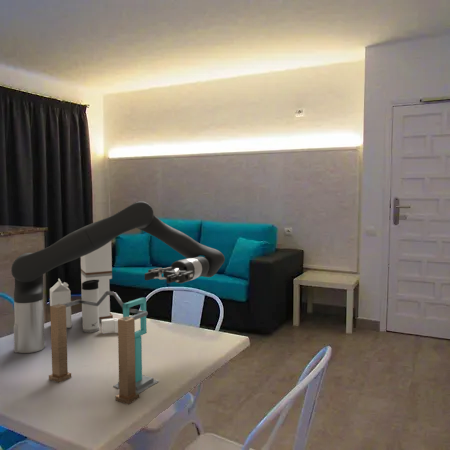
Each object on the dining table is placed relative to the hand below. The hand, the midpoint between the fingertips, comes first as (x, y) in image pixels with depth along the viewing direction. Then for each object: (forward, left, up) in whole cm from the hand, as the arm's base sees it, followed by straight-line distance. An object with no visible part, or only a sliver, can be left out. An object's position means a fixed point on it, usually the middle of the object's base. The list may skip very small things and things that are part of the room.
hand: (156, 278), depth 137 cm
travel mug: (-21, +43, -28) cm, 56 cm away
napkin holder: (-11, +40, -29) cm, 50 cm away
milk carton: (-33, +51, -28) cm, 67 cm away
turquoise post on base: (-7, -11, -28) cm, 31 cm away
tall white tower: (-19, +59, -28) cm, 68 cm away
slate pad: (-7, -11, -28) cm, 31 cm away
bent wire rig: (-17, -8, -28) cm, 34 cm away
